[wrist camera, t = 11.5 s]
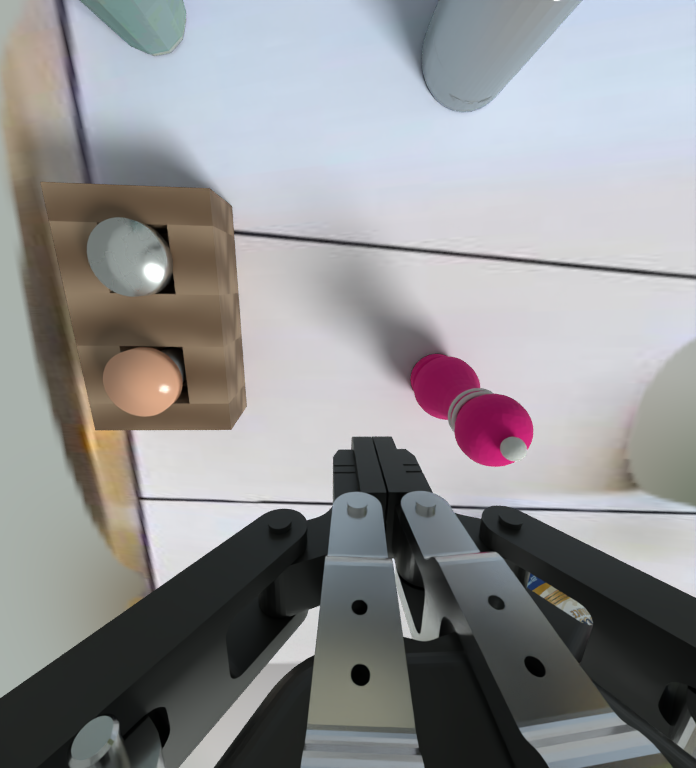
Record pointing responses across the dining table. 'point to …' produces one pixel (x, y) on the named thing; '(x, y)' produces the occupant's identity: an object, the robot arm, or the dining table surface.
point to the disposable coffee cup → (144, 22)
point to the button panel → (156, 299)
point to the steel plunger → (130, 257)
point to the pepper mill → (472, 411)
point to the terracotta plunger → (145, 379)
